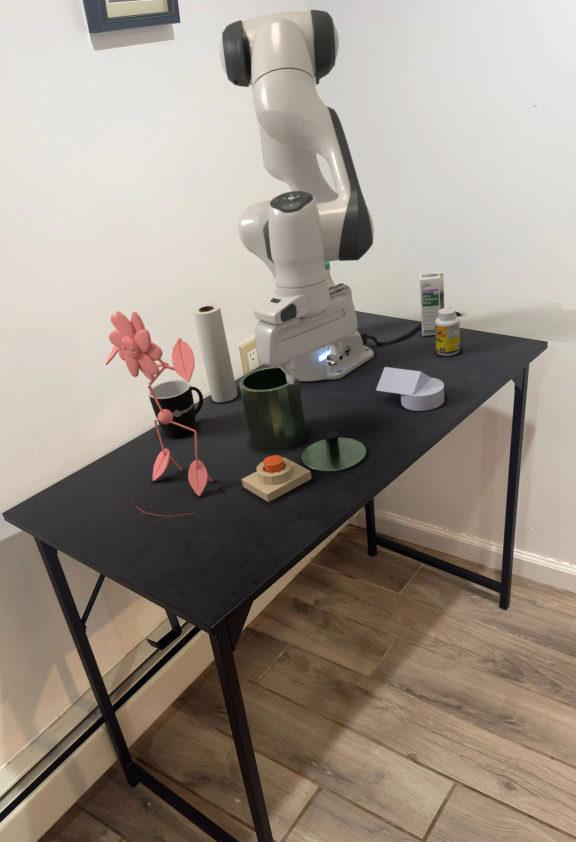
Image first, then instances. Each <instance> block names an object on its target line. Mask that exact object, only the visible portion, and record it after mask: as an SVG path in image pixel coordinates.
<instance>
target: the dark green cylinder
mask: <svg viewBox="0 0 576 842" xmlns="http://www.w3.org/2000/svg"><path fill="white" fill-rule="evenodd" d="M290 369H291V370H292V371H294V372H296V371H295V370H294V369H292V368H290ZM239 389H240V393H241V398H242V404H243V410H244V414H245V419H246V424H247V430H248V435H249V441H250V443H251V445H252V447H254V448H255V449H257V450H260V451H266V452H278V451H279V452H280V451H284V450H288V449H290V448H293V447H296V446H297V445H299V444H300V443H302V442H304V439H305V438H306V437H307V427H306V420H305V413H304V407H303V399H302V392H301V385H300V381H298V382H296V383H294V384H289V383H288V382H287V380H286V374H285V373H284V372H283V371H282V369H281V368H280V367H279V366H277V367H275V368H272V367H269V366H267V367H261V368H258V369H255V370H252V371H250V372H248V373H246V374H245V375H244V376H243V377H242V378H240V380H239Z"/></svg>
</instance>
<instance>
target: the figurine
mask: <svg viewBox="0 0 576 842" xmlns="http://www.w3.org/2000/svg"><path fill="white" fill-rule="evenodd" d="M130 315H131V316H130V320H129V318H128V317H127V315H125V314H124V313H122V312H121V311H120V310H116V312H115V314H112V315H111V316H110V322H111V323H112V325H113V327H114V328H115V329H116V330H112V331H111V332H110V333H109V335H108V340H109V342H110V343H111V344H112V345H113V347H112V349H111V351H110V353H109V355H108V357H107V359H106V362H105V365H106V366H108V365H109V363H111V362H112V361H113V359H114V358H115V357H116V355H117V354H118V356H119V358H120V359H121V360H122V361H123V362H125V364H126V368H127V370H128V372H129V373H130V375H131V376H132V377H134V378H137V377H139V375H140V372H141V373H142V374H143V375H144V376H145V377H146V378H147V379H148V380H150V381H149V382H148V386H147V389H148V390H149V391H150V392H151V394H152V396H153V398H154V399H155V401H156V403H157V405H158V407H159V409H160V412H159V414H158V418H155V419H154V421H153V422H154V425H155V429H156V433H157V436H158V439H159V443H160V446H161V451H160V452H159V454H158V455H157V457H156V459H155V460H154V461H155V462H154V464H153V469H152V482H156V481H157V480H159V479H160V478H161V477H163V475H164V473H165V472H166V471H167V470H168V469H167V468H168V466H169V464H170V462H171V463H172V464H173V465H174V466H175V467H176V468H177V470H178V471H180V472H183V470H184V469H183V468H182V467H181V466H180V465H179V464H178V463H177V462H176V460H174V458H173V457H171V450H170V449H169V448H165V447H164V444H163V440H162V437H161V433H160V429H159V426H158V420H159V421H160V422H161V423H162V424H169V423H173V424H175V425H178V426H181V427H183V428H186V429H188V430H191V431H193V432H194V450H195V451H194V452H195V453H194V454H195V460H194V461H192V462H190V465H189V469H188V474H187V480H188V482H189V485H190V488H191V489H193V492H194V493H195V494H196V495H197V496H198V497H200V496H201V495H202V493H203V492H204V491H205V488H206V487H207V484H208V481H209V482H211V483H212V482H214V480H213V478H212V477H211V476H210V475H209V474H208V470H207V467H206V465H205V464H204V461H201V460H200V459H199V458H198V455H199V454H198V432H197V430H196V429H195V428H194V429H191V428H189V427H186V426H183V425H181V424H178V423H176V422H173V421H172V420H173V414H172V413H171V411H169V410H167V409H164V410H162V408H161V406H160V404H159V402H158V400H157V398H156V396H155V394H154V392H153V389H152V388H153V387H152V385H153V384H154V383H155V382H156V380H157V379H158V378H159V377H160V376H161V374H162V373H163V372H164V371H165V370H166V369H168V370H171V371H175V372H176V374H177V375H178V376H179V377H181V378H182V380H183V381H187V382H188V383H190V381H191V379H192V376H193V373H194V370H195V366H196V365H195V364H196V363H195V354H194V351H193V349H192V348H191V347H190V345H189V344H188V343H187V342H186V341H183V339H182V338H181V337H179V338H177V340H176V343H175V344H174V346H172V352H171V362H172V363H171V364H172V366H171V365H170V364H169V363H168V362H167V361H166V362H165V361H164V360H163V359H162V356H163V353H164V351H163V350H162V348H161V347H160V346H159V345H158V344H156V343H154V342H153V341H152V337H151V334H150V331H149V330H148V329H147V328H146V327H145V323H144V321H143V320H142V317H141V316H140V314H138V312H136V311H133V312H131V314H130ZM157 361H158V362H159V363H156V362H157ZM160 368H161V369H160ZM131 503H132V504H134V502H133V501H131ZM137 509H138V510H140V511H141V512H142V514H144V515H145V514H149V515H152V516H159V517H164V519H166V518H167V519H169V518H170V517H178V516H181V514H175V515H172V514H171V515H167V516H166V515H163V514H156V513H150V512H147V511H144V510H142V509H140V508H139V507H137ZM195 513H196V512H194V511H193V512H190V513H184V514H182V516H188V515H192V514H195Z"/></svg>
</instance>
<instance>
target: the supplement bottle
mask: <svg viewBox="0 0 576 842" xmlns="http://www.w3.org/2000/svg"><path fill="white" fill-rule="evenodd" d="M456 312H457V309H456V308H454V307H444V308H443V309H440V310H439V311H438V318H437V319H436V321H435V332H436V335H435V353H436V354H437V355H440V356H442V357H449V356H450V357H451V356H454V355H456V354H459V352H460V350H461V329H460V328H461V326H460V325H461V324H460V322H461V321H460V317H459V316H458V315H456Z"/></svg>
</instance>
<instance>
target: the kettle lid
mask: <svg viewBox="0 0 576 842" xmlns="http://www.w3.org/2000/svg"><path fill="white" fill-rule="evenodd" d="M366 457H367V448H366V446H365V445H364V444H363V443H362V442H361V441H359V440H356V439H354V438H351V437H350V438H349V437H339V434H338V433H337V432H335V431H330V432H326V434H325V435H324V439H321V440H318V441H316V442H313V443H311V444H310V445H308V446H307V447H306V448H305V449H304V450H303V451H302V454H301V457H300V458H301V463H302V464H303V467H304V468H306V469H308V470H309V471H313V472H318V473H322V474H323V473H326V474H330V473H331V474H332V473H340V472H344V471H348V470H350V469H352V468H355V467H356V466H358V465H360V464H361V463H362V462H363V461H364V460H365V458H366Z"/></svg>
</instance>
